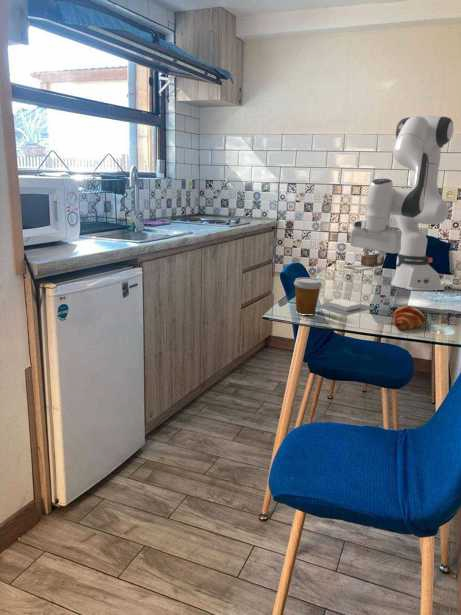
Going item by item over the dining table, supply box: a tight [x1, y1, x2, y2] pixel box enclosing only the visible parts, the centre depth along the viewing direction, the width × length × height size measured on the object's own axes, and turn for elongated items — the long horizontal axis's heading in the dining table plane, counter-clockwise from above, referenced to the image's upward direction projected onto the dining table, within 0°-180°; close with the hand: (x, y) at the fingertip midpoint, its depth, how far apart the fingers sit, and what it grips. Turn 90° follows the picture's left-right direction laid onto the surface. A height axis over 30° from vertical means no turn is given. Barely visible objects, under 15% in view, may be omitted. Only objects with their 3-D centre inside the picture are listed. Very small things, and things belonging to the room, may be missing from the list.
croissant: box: [393, 305, 426, 330], centre depth 170 cm, size 21×10×8 cm, turn 145°
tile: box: [328, 298, 361, 311], centre depth 185 cm, size 2×8×8 cm
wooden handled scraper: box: [343, 253, 385, 272], centre depth 187 cm, size 7×18×4 cm, turn 130°
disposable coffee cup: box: [293, 276, 323, 315], centre depth 176 cm, size 10×10×12 cm
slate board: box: [316, 302, 376, 317], centre depth 186 cm, size 18×14×1 cm
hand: (372, 261), depth 190 cm, fingers closed on wooden handled scraper, 3 cm apart
